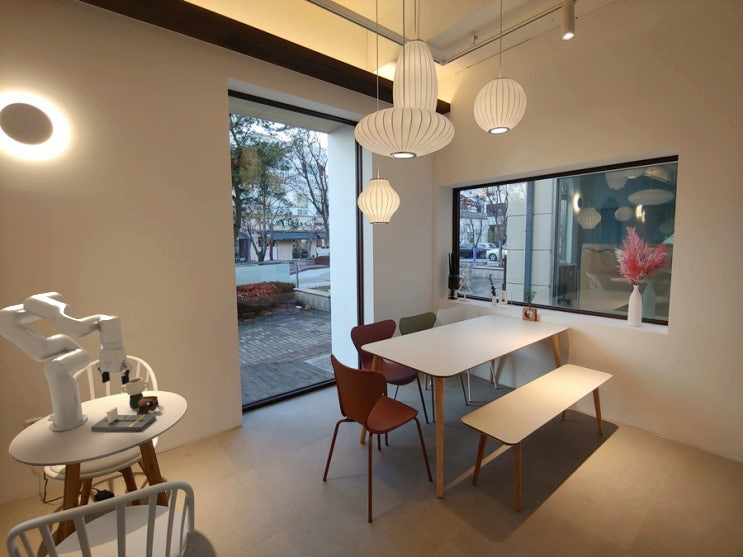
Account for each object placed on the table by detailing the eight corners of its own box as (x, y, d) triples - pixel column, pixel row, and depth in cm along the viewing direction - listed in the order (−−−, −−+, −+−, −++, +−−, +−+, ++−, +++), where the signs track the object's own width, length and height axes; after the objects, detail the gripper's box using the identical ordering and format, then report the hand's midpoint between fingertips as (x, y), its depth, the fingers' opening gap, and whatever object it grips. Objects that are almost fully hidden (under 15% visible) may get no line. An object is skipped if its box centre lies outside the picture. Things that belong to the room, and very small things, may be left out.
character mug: (150, 399, 181) (147, 375, 179) (150, 405, 175) (147, 380, 173) (124, 405, 175) (121, 380, 173) (123, 411, 169) (120, 385, 167)
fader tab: (107, 422, 155) (106, 411, 154) (114, 417, 159) (113, 406, 158) (111, 422, 155) (109, 411, 154) (118, 417, 159) (116, 406, 158)
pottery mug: (130, 415, 166) (133, 397, 169) (149, 415, 174) (152, 398, 177) (147, 413, 161) (150, 394, 165) (166, 413, 169) (168, 395, 173)
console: (91, 431, 152) (90, 426, 152) (109, 419, 162) (108, 414, 162) (141, 431, 152) (140, 426, 151) (156, 418, 161) (155, 414, 161)
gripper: (86, 346, 150) (90, 384, 152) (122, 349, 147) (126, 388, 149) (102, 341, 157) (106, 377, 159) (137, 343, 154) (140, 380, 157)
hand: (116, 382), depth 154 cm, fingers open, 9 cm apart
